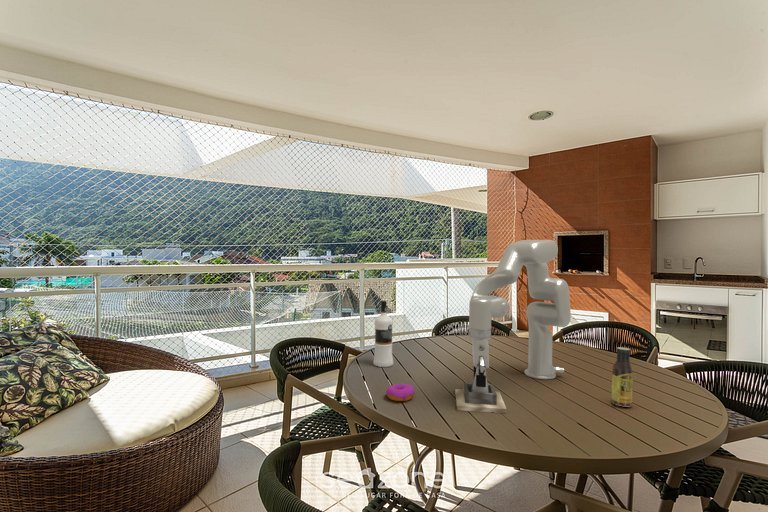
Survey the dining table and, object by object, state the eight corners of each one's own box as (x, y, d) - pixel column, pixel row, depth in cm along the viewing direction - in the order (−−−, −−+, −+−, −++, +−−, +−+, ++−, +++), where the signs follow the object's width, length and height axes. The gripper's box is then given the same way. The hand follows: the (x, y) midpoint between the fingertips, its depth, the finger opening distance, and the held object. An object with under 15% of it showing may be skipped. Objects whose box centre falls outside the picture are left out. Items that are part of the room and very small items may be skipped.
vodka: (383, 360, 187) (384, 299, 187) (397, 365, 180) (397, 300, 180) (369, 364, 181) (369, 300, 180) (383, 369, 174) (383, 302, 174)
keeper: (499, 395, 143) (499, 382, 143) (506, 413, 127) (506, 398, 127) (455, 393, 145) (455, 379, 145) (457, 410, 129) (457, 395, 129)
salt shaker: (475, 393, 140) (477, 357, 140) (490, 397, 137) (492, 361, 136) (468, 398, 136) (470, 361, 135) (483, 402, 132) (485, 365, 132)
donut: (404, 391, 147) (404, 379, 147) (420, 400, 138) (420, 387, 138) (381, 396, 142) (381, 384, 142) (396, 406, 133) (396, 392, 133)
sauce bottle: (621, 409, 131) (622, 351, 131) (606, 402, 137) (607, 346, 137) (637, 407, 133) (638, 350, 132) (621, 401, 139) (622, 345, 139)
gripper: (494, 339, 127) (493, 391, 127) (488, 328, 144) (487, 374, 144) (470, 338, 128) (470, 390, 128) (467, 328, 145) (467, 373, 145)
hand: (479, 381), depth 136 cm, fingers open, 9 cm apart
